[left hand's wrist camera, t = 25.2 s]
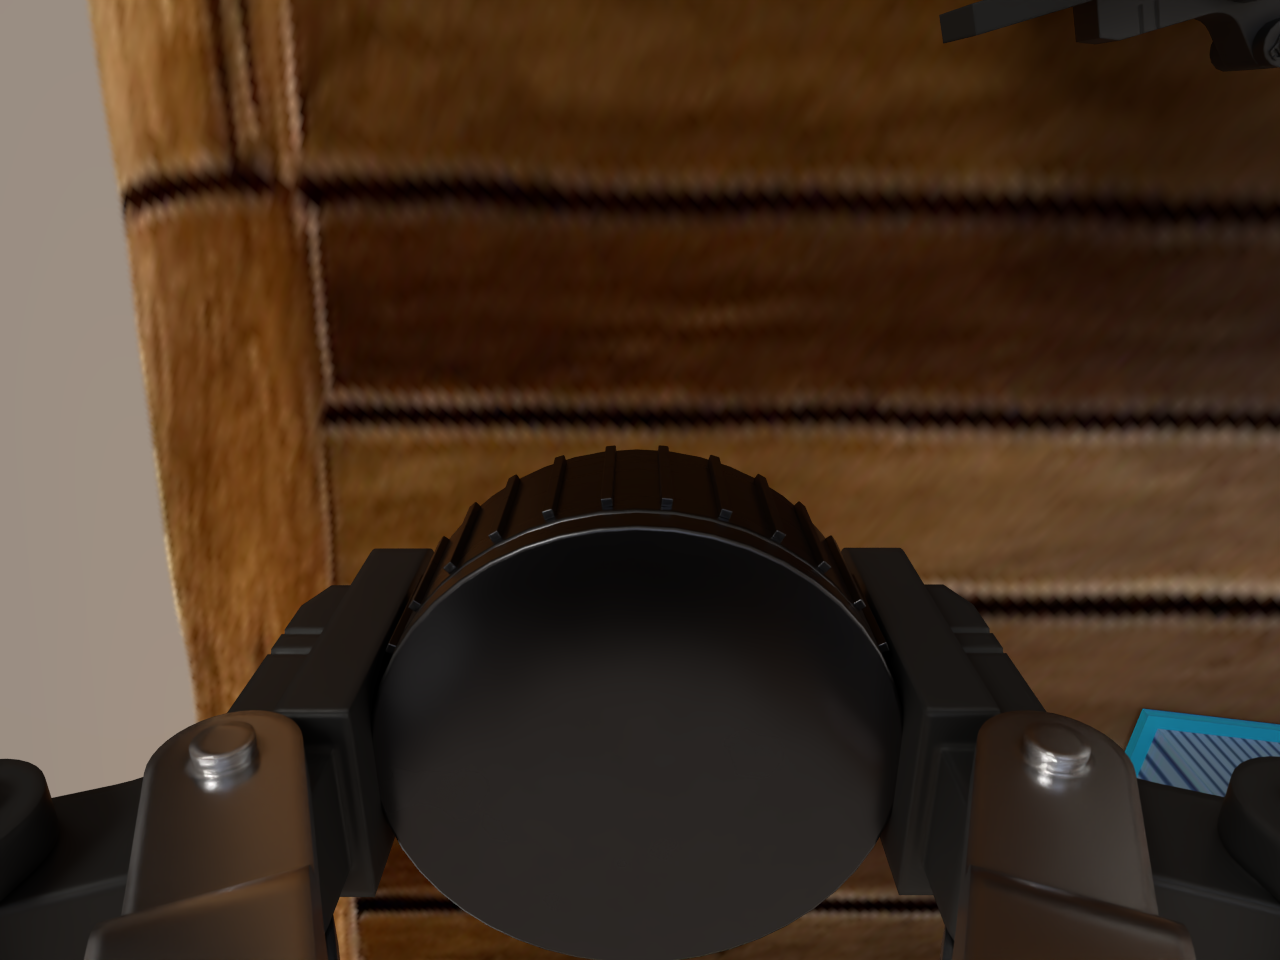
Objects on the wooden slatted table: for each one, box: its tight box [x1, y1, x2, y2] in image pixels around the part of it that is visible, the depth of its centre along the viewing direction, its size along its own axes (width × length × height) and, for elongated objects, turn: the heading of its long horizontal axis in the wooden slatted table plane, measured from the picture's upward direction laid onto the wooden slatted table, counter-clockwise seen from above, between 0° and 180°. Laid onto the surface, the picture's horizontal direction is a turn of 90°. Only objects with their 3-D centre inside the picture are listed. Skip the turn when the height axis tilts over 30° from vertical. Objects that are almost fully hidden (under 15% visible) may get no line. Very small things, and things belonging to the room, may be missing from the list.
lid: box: [371, 446, 903, 960], centre depth 10 cm, size 6×6×2 cm
